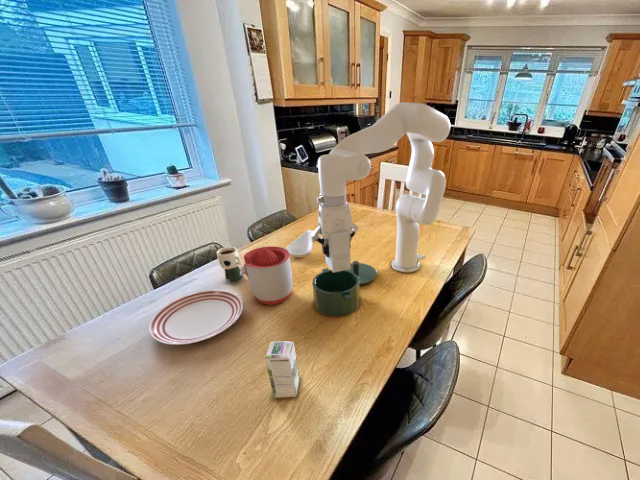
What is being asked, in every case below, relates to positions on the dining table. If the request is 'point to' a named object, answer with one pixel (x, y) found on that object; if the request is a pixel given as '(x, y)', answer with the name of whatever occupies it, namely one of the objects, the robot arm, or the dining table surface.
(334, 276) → the pot
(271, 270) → the citrus juicer
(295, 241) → the spoon rest
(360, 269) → the lid
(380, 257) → the dining table surface
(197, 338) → the dinner plate
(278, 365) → the syrup box
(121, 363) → the dining table surface
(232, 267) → the character mug
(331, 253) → the small box
